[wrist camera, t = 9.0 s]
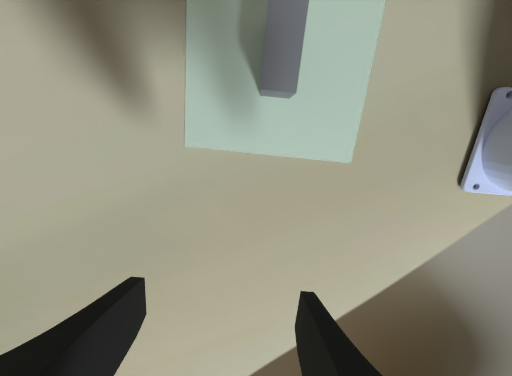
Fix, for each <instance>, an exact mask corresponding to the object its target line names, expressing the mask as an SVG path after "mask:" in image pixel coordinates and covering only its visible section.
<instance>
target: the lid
mask: <svg viewBox="0 0 512 376" xmlns="http://www.w3.org/2000/svg"><path fill="white" fill-rule="evenodd" d="M385 2H386V0H187V2H186V76H185V146H188V147H197V148H207V149H217V150H227V151H237V152H246V153H256V154H266V155H276V156H286V157H295V158H305V159H315V160H325V161H335V162H344V163H351V161H352V156H353V151H354V147H355V142H356V137H357V133H358V128H359V123H360V119H361V114H362V109H363V105H364V100H365V95H366V91H367V86H368V81H369V77H370V72H371V67H372V63H373V58H374V53H375V49H376V44H377V39H378V35H379V30H380V25H381V21H382V16H383V12H384V7H385Z"/></svg>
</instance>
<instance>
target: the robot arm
mask: <svg viewBox="0 0 512 376" xmlns="http://www.w3.org/2000/svg"><path fill="white" fill-rule="evenodd" d="M507 93H508V97H506V94H507ZM474 185H475V187H474V188H473V186H474ZM460 187H461V189H462V190H463V191H466V192H475V193H486V194H497V195H508V196H512V88H511V87H501V88H497V89H495V90H494V91H493V93H492V95H491V98H490V101H489V104H488V107H487V110H486V113H485V116H484V119H483V121H482V124H481V127H480V130H479V133H478V136H477V139H476V142H475V145H474V147H473V150H472V153H471V156H470V159H469V162H468V165H467V168H466V171H465V173H464V176H463V179H462V182H461V186H460ZM145 316H146V298H145V279H144V278H141V277H130V278H128V279H127V280H125V281H124V282H122V283H121V284H119V285H118V286H116V287H115V288H113V289H112V290H110V291H109V292H108V293H106V294H105V295H103V296H102V297H100V298H99V299H97V300H96V301H94V302H93V303H91V304H90V305H88V306H87V307H85V308H84V309H82V310H80V311H79V312H77V313H76V314H74V315H72V316H71V317H69V318H67V319H66V320H64V321H63V322H61V323H59V324H58V325H56V326H54V327H53V328H51V329H49V330H48V331H46V332H44V333H42V334H41V335H39V336H37V337H35V338H33V339H31V340H29V341H28V342H26V343H24V344H22V345H20V346H18V347H16V348H14V349H12V350H10V351H8V352H6V353H4V354H2V355H0V376H114V374H115V373H116V371H117V369H118V368H119V366H120V364H121V362H122V361H123V359H124V357H125V356H126V354H127V352H128V350H129V349H130V347H131V345H132V344H133V342H134V340H135V338H136V336H137V334H138V332H139V330H140V328H141V325H142V323H143V321H144V318H145ZM295 334H296V344H297V351H298V357H299V362H300V366H301V372H302V376H382V375H381V374H380V373H379V372H378V371H377V370H376V369H375V368H374V367H373V366H372V365H371V364H370V363H369V362H368V360H367V359H366V358H365V357H364V356H363V355H362V354H361V353H360V351H359V350H358V349H357V348H356V347H355V346H354V344H353V343H352V342H351V341H350V340H349V338H348V337H347V336H346V335H345V333H344V332H343V331H342V330H341V328H340V327H339V326H338V325H337V323H336V322H335V320H334V319H333V318H332V316H331V315H330V314H329V312H328V311H327V310H326V308H325V307H324V305H323V304H322V303H321V301H320V300H319V298H318V297H317V295H316V294H315V293H314V292H305V291H301V293H300V299H299V305H298V311H297V316H296V322H295Z"/></svg>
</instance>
